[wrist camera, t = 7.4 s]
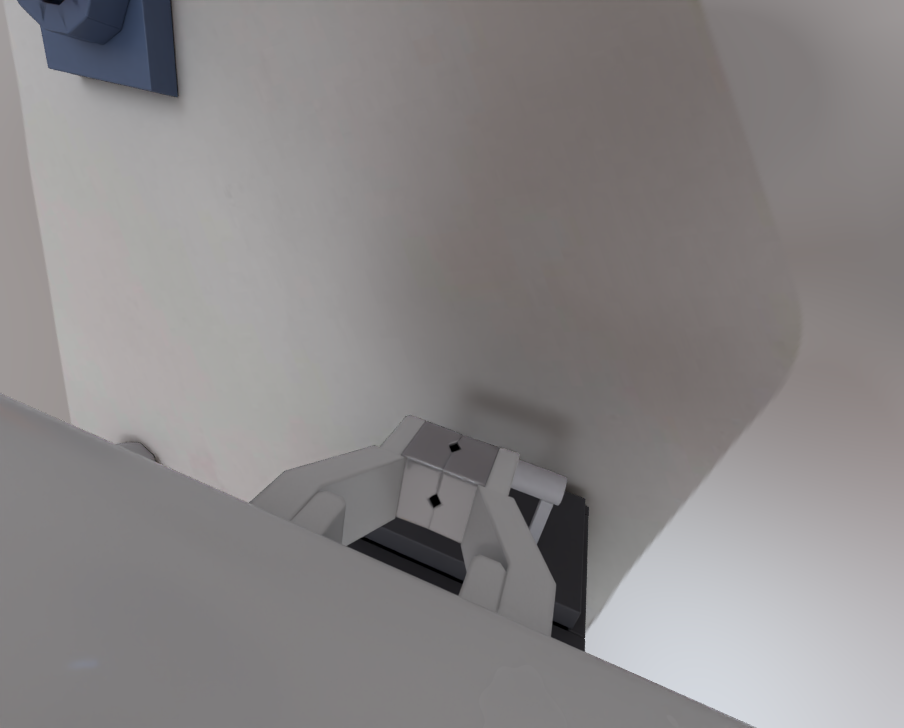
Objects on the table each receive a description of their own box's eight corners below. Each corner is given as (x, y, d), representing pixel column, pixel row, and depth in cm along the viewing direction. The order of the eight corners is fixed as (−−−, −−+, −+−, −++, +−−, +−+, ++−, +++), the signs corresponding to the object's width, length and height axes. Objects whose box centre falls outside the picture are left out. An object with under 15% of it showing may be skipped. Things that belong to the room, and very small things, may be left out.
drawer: (425, 377, 25) (361, 445, 19) (611, 441, 23) (617, 546, 16) (389, 561, 33) (333, 658, 26) (528, 623, 30) (508, 749, 23)
